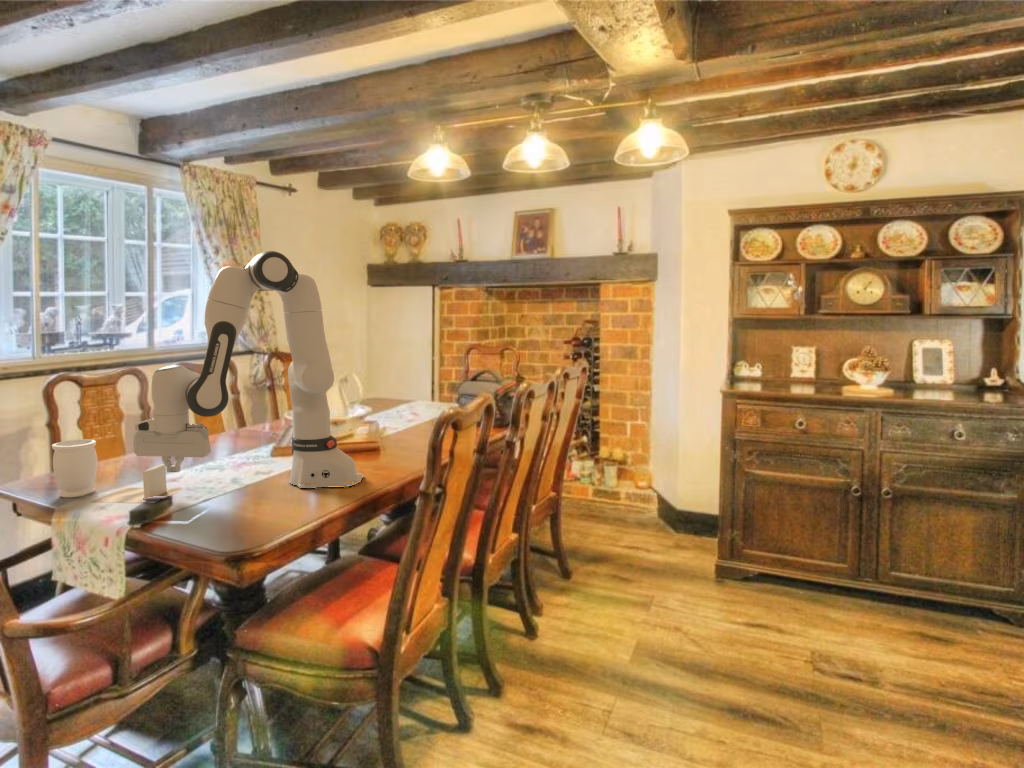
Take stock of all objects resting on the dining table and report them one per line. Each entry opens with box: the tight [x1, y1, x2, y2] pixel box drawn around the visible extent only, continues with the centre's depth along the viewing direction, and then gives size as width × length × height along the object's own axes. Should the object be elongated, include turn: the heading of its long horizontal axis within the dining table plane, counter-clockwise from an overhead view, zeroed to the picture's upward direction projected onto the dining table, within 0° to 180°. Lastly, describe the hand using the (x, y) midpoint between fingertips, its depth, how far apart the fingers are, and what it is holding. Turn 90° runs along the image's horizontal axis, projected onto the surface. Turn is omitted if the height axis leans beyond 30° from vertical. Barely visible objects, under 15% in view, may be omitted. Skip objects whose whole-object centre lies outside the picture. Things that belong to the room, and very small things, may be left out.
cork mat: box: [90, 487, 183, 504], centre depth 176 cm, size 18×14×1 cm
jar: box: [51, 438, 99, 499], centre depth 178 cm, size 11×10×15 cm
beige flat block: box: [142, 463, 167, 498], centre depth 176 cm, size 2×8×8 cm, turn 179°
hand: (173, 471), depth 175 cm, fingers closed
